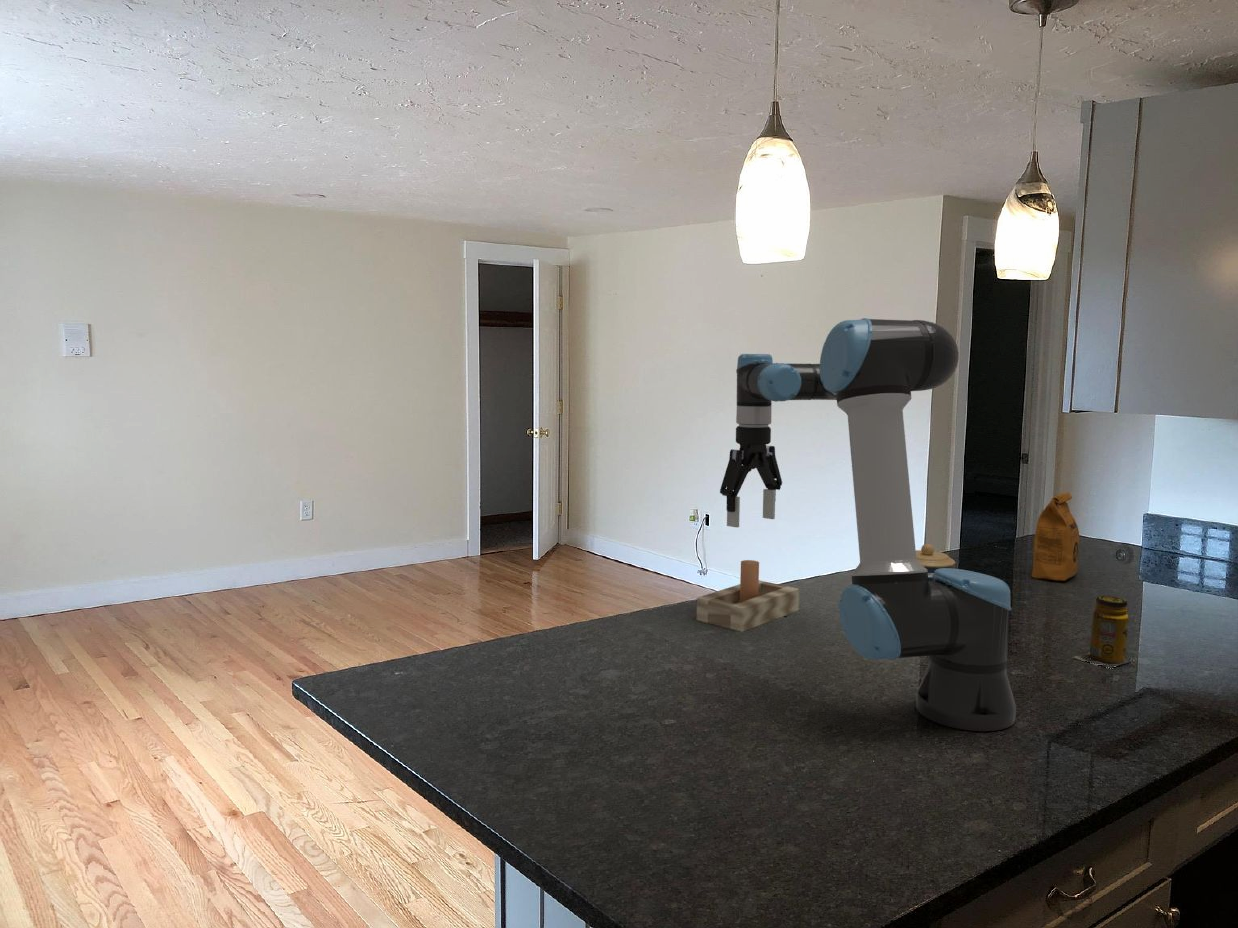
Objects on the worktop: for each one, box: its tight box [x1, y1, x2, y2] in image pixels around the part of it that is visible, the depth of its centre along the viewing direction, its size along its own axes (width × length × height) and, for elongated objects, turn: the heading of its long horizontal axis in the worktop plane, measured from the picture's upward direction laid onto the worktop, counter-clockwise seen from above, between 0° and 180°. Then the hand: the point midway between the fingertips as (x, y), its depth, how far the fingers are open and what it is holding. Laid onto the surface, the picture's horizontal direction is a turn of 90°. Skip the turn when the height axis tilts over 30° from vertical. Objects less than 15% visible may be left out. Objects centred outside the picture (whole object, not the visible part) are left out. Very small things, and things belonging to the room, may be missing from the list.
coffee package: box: [1031, 492, 1081, 582], centre depth 236 cm, size 10×12×22 cm
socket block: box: [696, 579, 800, 633], centre depth 201 cm, size 22×12×5 cm, turn 137°
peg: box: [739, 559, 760, 603], centre depth 201 cm, size 4×4×12 cm
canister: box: [916, 543, 956, 581], centre depth 195 cm, size 13×13×18 cm
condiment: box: [1073, 595, 1135, 670], centre depth 173 cm, size 7×8×12 cm
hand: (751, 522), depth 199 cm, fingers open, 13 cm apart
